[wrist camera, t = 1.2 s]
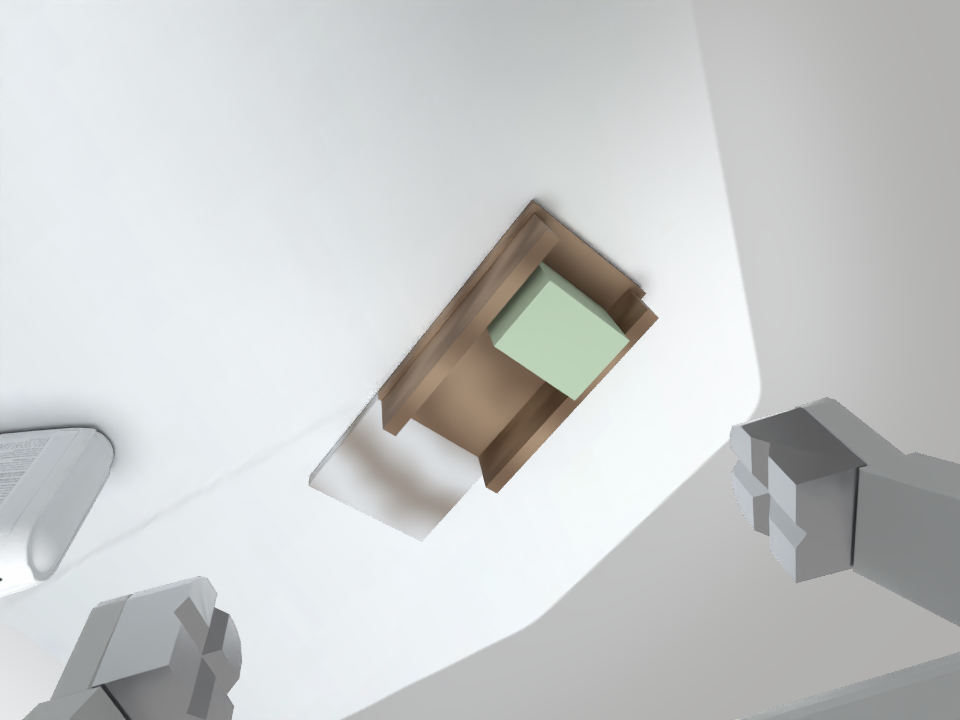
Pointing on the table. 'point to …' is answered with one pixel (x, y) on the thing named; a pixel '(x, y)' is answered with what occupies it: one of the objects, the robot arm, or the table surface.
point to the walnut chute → (471, 389)
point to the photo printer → (46, 498)
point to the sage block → (557, 332)
